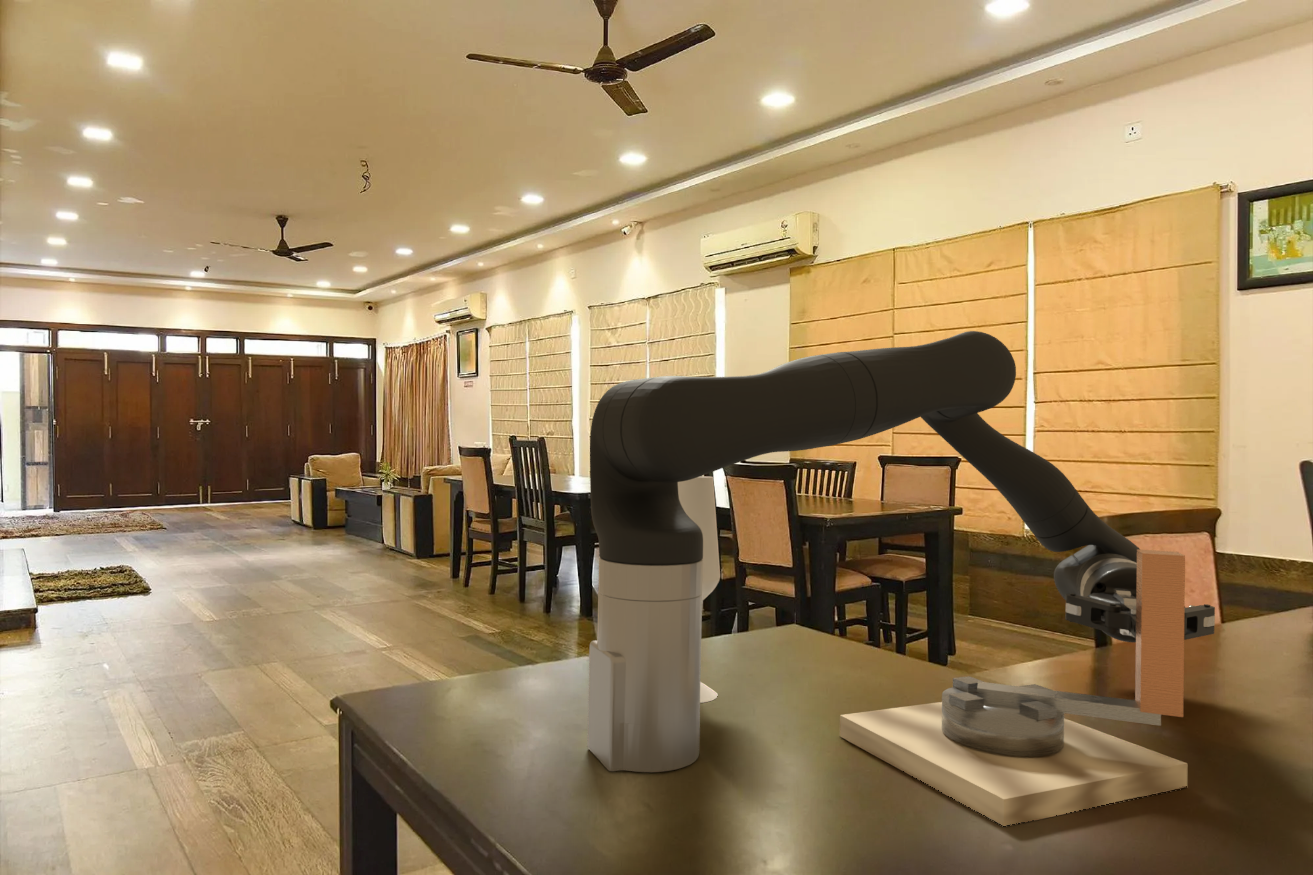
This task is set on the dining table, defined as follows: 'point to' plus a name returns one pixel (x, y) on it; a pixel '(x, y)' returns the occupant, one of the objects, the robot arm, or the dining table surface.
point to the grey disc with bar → (1037, 713)
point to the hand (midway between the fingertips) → (1157, 633)
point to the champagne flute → (702, 511)
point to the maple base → (1013, 766)
